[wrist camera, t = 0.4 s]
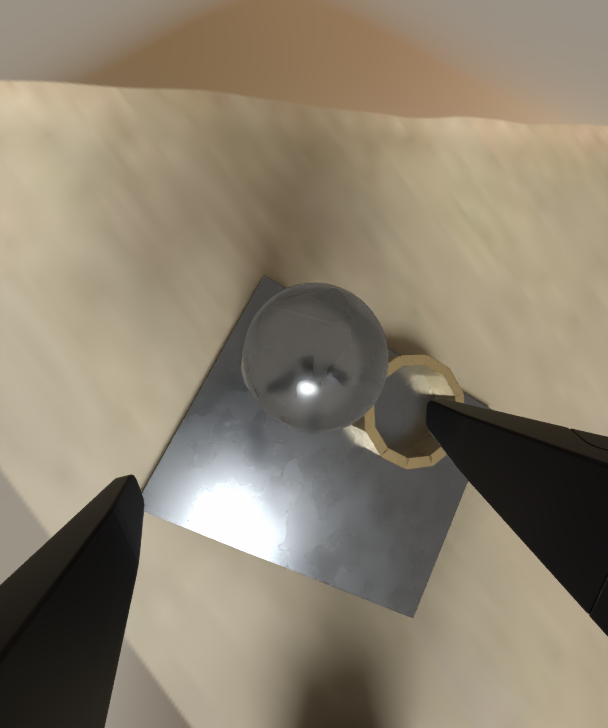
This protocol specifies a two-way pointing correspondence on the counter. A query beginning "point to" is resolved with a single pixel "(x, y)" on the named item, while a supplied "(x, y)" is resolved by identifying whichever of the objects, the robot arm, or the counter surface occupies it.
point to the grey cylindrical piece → (315, 358)
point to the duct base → (318, 478)
